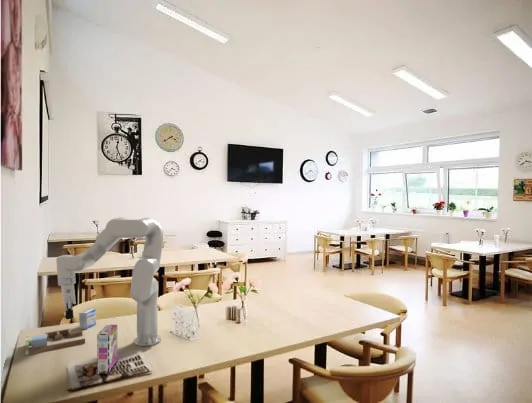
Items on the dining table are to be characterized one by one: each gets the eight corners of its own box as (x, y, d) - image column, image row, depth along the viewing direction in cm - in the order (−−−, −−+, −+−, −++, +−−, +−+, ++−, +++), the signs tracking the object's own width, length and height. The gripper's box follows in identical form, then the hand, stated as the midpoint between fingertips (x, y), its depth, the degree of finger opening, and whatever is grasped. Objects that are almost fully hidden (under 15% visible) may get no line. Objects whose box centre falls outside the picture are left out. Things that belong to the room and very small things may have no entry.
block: (47, 348, 176) (47, 338, 176) (32, 351, 173) (31, 340, 173) (47, 344, 181) (46, 333, 181) (32, 346, 178) (32, 336, 178)
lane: (85, 343, 182) (84, 335, 182) (25, 355, 169) (25, 346, 169) (80, 331, 197) (80, 323, 197) (26, 341, 184) (25, 333, 184)
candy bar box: (109, 374, 151) (109, 334, 151) (97, 375, 151) (96, 334, 150) (118, 361, 162) (117, 324, 162) (106, 362, 162) (105, 324, 161)
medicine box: (86, 329, 199) (86, 313, 199) (79, 329, 200) (78, 312, 200) (96, 324, 207) (96, 308, 207) (89, 323, 208) (88, 308, 208)
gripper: (77, 282, 178) (80, 320, 179) (74, 276, 191) (76, 312, 191) (59, 285, 174) (62, 324, 175) (57, 279, 187) (59, 316, 187)
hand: (69, 318), depth 183 cm, fingers closed
